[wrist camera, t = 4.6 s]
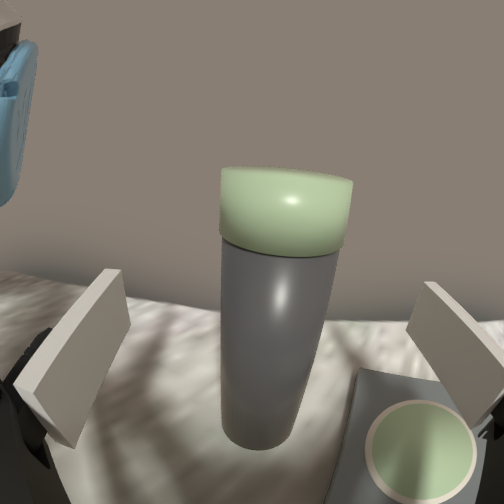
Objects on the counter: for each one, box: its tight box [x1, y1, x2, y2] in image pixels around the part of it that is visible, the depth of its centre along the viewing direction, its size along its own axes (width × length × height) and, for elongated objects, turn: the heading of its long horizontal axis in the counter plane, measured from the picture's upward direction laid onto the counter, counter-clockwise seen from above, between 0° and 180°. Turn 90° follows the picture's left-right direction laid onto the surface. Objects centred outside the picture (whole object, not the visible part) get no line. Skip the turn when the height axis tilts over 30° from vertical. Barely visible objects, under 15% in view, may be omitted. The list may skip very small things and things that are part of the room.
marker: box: [219, 166, 353, 450], centre depth 11 cm, size 4×4×13 cm
